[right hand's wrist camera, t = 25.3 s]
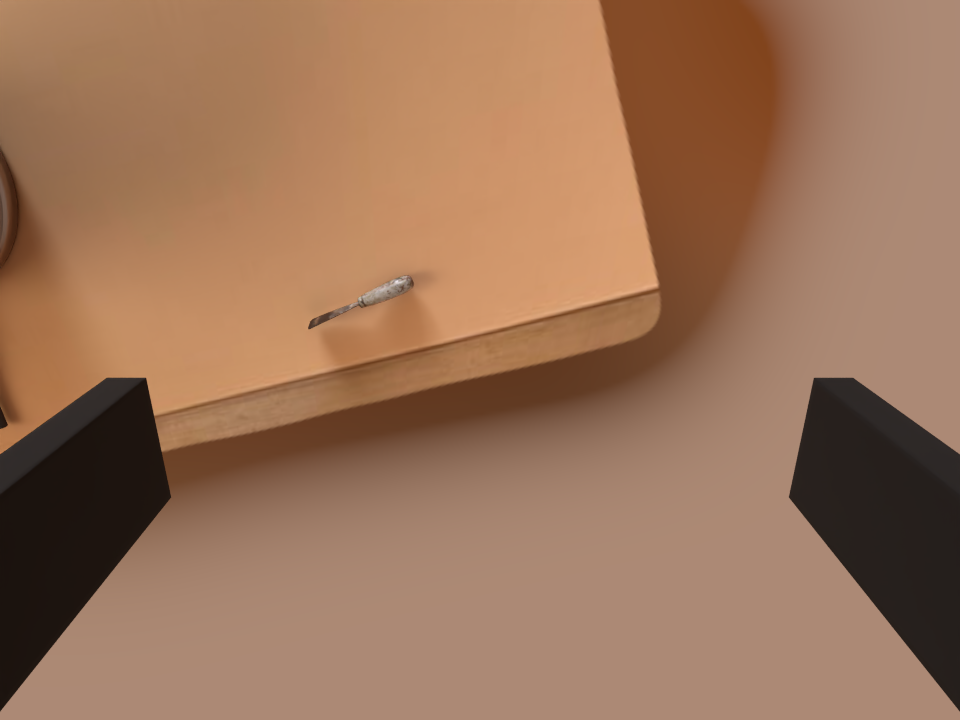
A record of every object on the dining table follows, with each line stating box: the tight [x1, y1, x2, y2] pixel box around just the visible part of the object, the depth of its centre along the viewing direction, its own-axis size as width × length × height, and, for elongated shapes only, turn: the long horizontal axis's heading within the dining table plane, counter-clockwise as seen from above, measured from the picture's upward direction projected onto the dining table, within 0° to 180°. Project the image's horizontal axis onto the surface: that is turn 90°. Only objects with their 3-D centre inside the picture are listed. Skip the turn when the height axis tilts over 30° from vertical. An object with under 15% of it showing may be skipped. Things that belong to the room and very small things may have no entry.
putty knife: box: [308, 275, 414, 329], centre depth 44 cm, size 1×8×2 cm, turn 114°
